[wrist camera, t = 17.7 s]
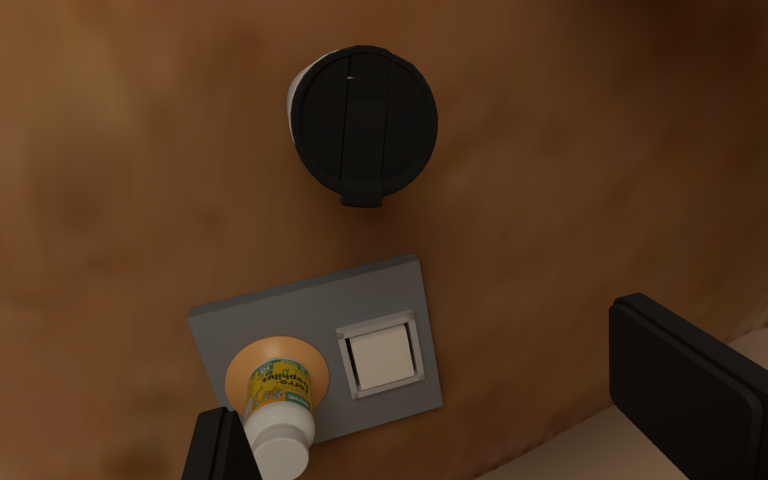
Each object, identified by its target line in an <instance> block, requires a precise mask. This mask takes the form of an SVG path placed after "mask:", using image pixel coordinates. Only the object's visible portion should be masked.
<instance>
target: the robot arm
mask: <svg viewBox="0 0 768 480" xmlns="http://www.w3.org/2000/svg"><path fill="white" fill-rule="evenodd" d="M609 391H610V396H611V398H612V401H613V402H614V404H615V405H616V406H617V408H618V409H619V410H620V411H622V413H624V414H625V416H626V417H628V418H629V420H630V421H631V422H632V423H633V424H634V425H635V426H637V428H638V429H639V430H640V431H641V432H642V433H644V435H645V436H646V437H647V438H648V439H649V440H650V441H651V442H652V443H653V444H654V445H655V446H656V447H657V448H658V449H659V450H660V451H661V452H662V453H663V454H664V455H665V456H666V457H667V458H668V459H669V460H670V461H671V462H672V463H673V464H674V465H675V466H676V467H677V468H678V469H679V470H680V471H681V472H682V473H683V474H684V475H685V476H686V477H687V478H688V479H689V480H768V370H766V369H764V368H763V367H761V366H759V365H758V364H756V363H755V362H753V361H751V360H750V359H748V358H747V357H745V356H743V355H742V354H740V353H738V352H737V351H735V350H733V349H732V348H730V347H729V346H727V345H725V344H724V343H722V342H720V341H719V340H717V339H716V338H714V337H712V336H711V335H709V334H707V333H706V332H704V331H702V330H701V329H699V328H698V327H696V326H694V325H693V324H691V323H689V322H688V321H686V320H684V319H683V318H681V317H680V316H678V315H676V314H675V313H673V312H671V311H670V310H668V309H667V308H665V307H663V306H662V305H660V304H658V303H657V302H655V301H653V300H652V299H650V298H649V297H647V296H645V295H644V294H641V293H634V294H631V295H627V296H623V297H620V298H617V299H615V301H614V303H613V306H611V307H610V308H609ZM181 480H263V479H262V476H261V474H260V471H259V468H258V466H257V463H256V460H255V458H254V455H253V452H252V449H251V447H250V444H249V441H248V439H247V436H246V433H245V431H244V428H243V425H242V423H241V420H240V417H239V415H238V412H237V411H236V410H233V411H230V412H229V410H228V408H227V407H225V406H223V407H220V408H216V409H212V410H209V411H205V412H202V413H200V414H199V415H198V418H197V422H196V426H195V429H194V433H193V437H192V441H191V445H190V448H189V452H188V456H187V460H186V463H185V467H184V471H183V475H182V478H181Z"/></svg>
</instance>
